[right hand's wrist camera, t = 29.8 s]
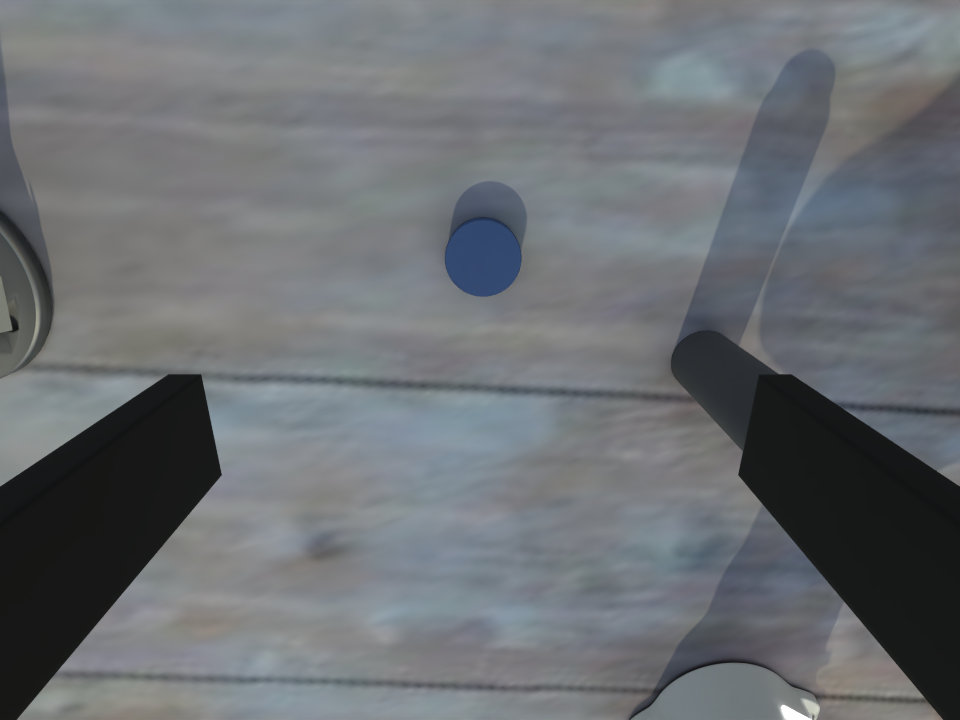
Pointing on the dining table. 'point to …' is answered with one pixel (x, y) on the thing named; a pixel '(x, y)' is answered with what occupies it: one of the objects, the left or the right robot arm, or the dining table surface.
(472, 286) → the lid
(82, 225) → the dining table surface
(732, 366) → the dark grey cylinder
